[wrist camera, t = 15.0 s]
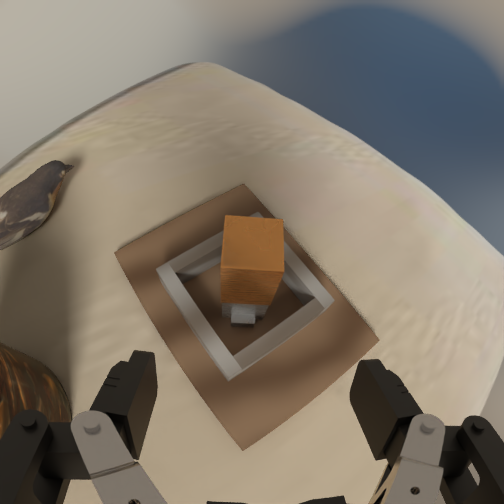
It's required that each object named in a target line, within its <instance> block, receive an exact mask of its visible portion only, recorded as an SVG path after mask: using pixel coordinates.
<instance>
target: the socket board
mask: <svg viewBox="0 0 504 504" xmlns="http://www.w3.org/2000/svg"><path fill="white" fill-rule="evenodd" d="M225 215H231V216H245V217H258V218H271V219H276V218H275V217H274V216H273V215H272V214H271V213H270V212H269V211H268V210H267V208H266V207H265V206H264V205H263V204H262V203H261V202H260V201H259V200H258V199H257V198H256V196H255V195H254V194H253V193H252V192H251V191H250V190H249V189H248V188H247V187H246V186H245V184H242V185H240V186H238V187H236V188H234V189H232V190H230V191H228V192H226V193H224V194H222V195H220V196H218V197H216V198H214V199H212V200H210V201H208V202H206V203H204V204H202V205H200V206H198V207H196V208H195V209H193V210H191V211H189V212H187V213H185V214H183V215H181V216H179V217H177V218H176V219H174V220H172V221H170V222H168V223H166V224H164V225H163V226H161V227H159V228H157V229H155V230H153V231H152V232H150V233H148V234H146V235H144V236H142V237H141V238H139V239H137V240H135V241H134V242H132V243H130V244H128V245H126V246H125V247H123V248H121V249H119V250H118V251H116V252H114V254H115V256H116V258H117V259H118V261H119V263H120V265H121V267H122V269H123V271H124V273H125V275H126V277H127V278H128V280H129V282H130V284H131V286H132V288H133V289H134V291H135V293H136V295H137V296H138V298H139V300H140V302H141V303H142V305H143V307H144V309H145V310H146V312H147V314H148V315H149V317H150V319H151V321H152V322H153V324H154V326H155V327H156V329H157V330H158V332H159V334H160V335H161V337H162V339H163V340H164V342H165V343H166V345H167V347H168V348H169V350H170V351H171V353H172V354H173V356H174V357H175V359H176V360H177V362H178V364H179V365H180V367H181V368H182V370H183V371H184V373H185V374H186V375H187V377H188V378H189V380H190V381H191V383H192V384H193V386H194V387H195V389H196V390H197V391H198V393H199V394H200V396H201V397H202V398H203V400H204V401H205V403H206V404H207V405H208V407H209V408H210V409H211V411H212V412H213V413H214V415H215V416H216V418H217V419H218V420H219V421H220V423H221V424H222V425H223V427H224V428H225V429H226V431H227V432H228V433H229V434H230V436H231V437H232V438H233V440H234V441H235V442H236V443H237V445H238V446H239V447H240V448H241V450H242V451H244V450H245V449H247V448H248V447H250V446H251V445H253V444H254V443H255V442H257V441H258V440H260V439H261V438H263V437H264V436H266V435H267V434H268V433H270V432H271V431H273V430H274V429H275V428H277V427H278V426H279V425H281V424H282V423H284V422H285V421H286V420H288V419H289V418H290V417H292V416H293V415H294V414H295V413H297V412H298V411H299V410H301V409H302V408H303V407H304V406H306V405H307V404H308V403H309V402H311V401H312V400H313V399H314V398H316V397H317V396H318V395H319V394H321V393H322V392H323V391H324V390H325V389H327V388H328V387H329V386H330V385H331V384H332V383H334V382H335V381H336V380H337V379H338V378H339V377H340V376H342V375H343V374H344V373H345V372H346V371H347V370H348V369H350V368H351V367H352V366H353V365H354V364H355V363H356V362H357V361H358V360H359V359H360V358H362V357H363V356H364V355H365V354H366V353H367V352H368V351H369V350H370V349H371V348H372V347H373V346H374V345H375V344H376V343H377V342H378V341H379V339H378V337H377V336H376V335H375V334H374V333H373V331H372V330H371V329H370V328H369V326H368V325H367V324H366V323H365V322H364V320H363V319H362V318H361V317H360V316H359V314H358V313H357V312H356V311H355V310H354V308H353V307H352V306H351V305H350V304H349V302H348V301H347V300H346V299H345V298H344V297H343V295H342V294H341V293H340V292H339V291H338V289H337V288H336V287H335V286H334V285H333V284H332V282H331V281H330V280H329V279H328V278H327V277H326V275H325V274H324V273H323V272H322V271H321V270H320V268H319V267H318V266H317V265H316V264H315V263H314V261H313V260H312V259H311V258H310V257H309V256H308V255H307V253H306V252H305V251H304V250H303V249H302V248H301V247H300V245H299V244H298V243H297V242H296V241H295V240H294V239H293V238H292V236H291V235H290V234H289V233H288V232H287V231H286V230H285V229H284V227H283V235H284V274H283V276H282V279H281V281H280V283H279V286H278V288H277V291H276V293H275V295H274V298H273V300H272V303H271V305H269V306H268V308H267V311H266V313H265V315H264V318H263V320H262V319H255V325H254V328H250V327H232V326H231V318H228V317H222V303H221V256H222V244H223V233H224V222H225Z"/></svg>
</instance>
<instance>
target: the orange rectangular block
mask: <svg viewBox="0 0 504 504" xmlns="http://www.w3.org/2000/svg"><path fill="white" fill-rule="evenodd" d="M283 274H284V235H283V219H271V218H258V217H245V216H231V215H225V222H224V233H223V244H222V256H221V303H222V317H228V318H231V326H232V327H250V328H254V325H255V319H262V320H263V318H264V315H265V313H266V311H267V308H268V306H269V305H271V303H272V300H273V298H274V295H275V293H276V291H277V288H278V286H279V283H280V281H281V279H282V276H283Z"/></svg>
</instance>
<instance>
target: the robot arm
mask: <svg viewBox="0 0 504 504" xmlns="http://www.w3.org/2000/svg"><path fill="white" fill-rule="evenodd" d="M157 388H158V385H157V374H156V364H155V355H154V353H153V352H146V351H138V350H134V352H133V353H132V355H131V357H130V360H129V362H125V361H120V362H119V363H117V364H116V365H115V366H113V367H112V368H111V370H110V372H109V374H108V376H107V378H106V379H105V381H104V383H103V385H102V387H101V389H100V391H99V393H98V394H97V396H96V398H95V400H94V402H93V404H92V406H91V408H90V410H89V411H85V412H82V413H80V414H78V415H76V416H75V417H74V419H73V420H72V422H48V420H47V417H46V416H45V415H44V414H43V413H42V412H40V411H38V410H33V409H28V410H23V411H21V412H19V413H18V414H16V415H15V416H14V418H13V419H12V421H11V422H10V424H9V426H8V427H7V429H6V431H5V432H4V434H3V436H2V438H1V439H0V504H63V502H64V499H65V496H66V493H67V489H68V486H69V483H70V480H71V479H80V480H92V482H93V484H94V486H95V488H96V490H97V492H98V494H99V496H100V498H101V500H102V502H103V504H167V502H166V501H165V500H164V498H163V497H162V495H161V494H160V493H159V491H158V490H157V488H156V487H155V486H154V484H153V483H152V481H151V480H150V478H149V477H148V475H147V474H146V472H145V471H144V469H143V468H142V466H141V465H140V464H139V463H138V462H135V461H134V459H136V460H139V457H140V453H141V450H142V446H143V442H144V439H145V435H146V432H147V428H148V425H149V421H150V418H151V414H152V411H153V407H154V404H155V401H156V397H157ZM350 402H351V405H352V407H353V409H354V412H355V414H356V416H357V419H358V421H359V423H360V425H361V428H362V430H363V432H364V435H365V437H366V439H367V442H368V444H369V446H370V449H371V451H372V453H373V456H374V458H375V460H381V459H386V458H387V461H388V463H387V465H386V467H385V469H384V471H383V474H382V476H381V478H380V480H379V483H378V485H377V487H376V489H375V491H374V493H373V496H372V498H371V500H370V501H369V503H368V504H435V503H436V500H437V496H438V492H439V489H440V491H441V494H442V496H443V498H444V500H445V503H446V504H504V442H503V441H502V439H501V438H500V437H499V435H498V434H497V432H496V431H495V430H494V428H493V427H492V426H491V424H490V423H489V422H488V421H487V420H486V419H484V418H482V417H480V416H469V417H467V418H466V419H465V420H464V421H463V423H462V425H461V426H445V425H444V423H443V422H442V421H441V420H440V419H439V418H438V417H436V416H434V415H431V414H424V413H423V412H422V410H421V409H420V407H419V406H418V404H417V403H416V401H415V400H414V398H413V397H412V395H411V394H410V393H408V390H407V388H406V387H405V386H404V384H403V382H402V381H401V379H400V378H399V377H398V376H397V375H396V374H394V373H393V372H392V371H390V370H386V369H385V367H384V366H383V364H382V363H381V361H380V360H379V359H371V360H361V361H360V362H359V363H358V366H357V370H356V373H355V376H354V379H353V383H352V386H351V389H350ZM471 463H473V465H474V467H475V469H476V471H477V472H478V474H479V477H480V483H479V485H477V484H476V482H475V480H474V478H473V476H472V474H471V473H470V471H469V469H468V467H469V465H470V464H471ZM207 504H246V503H234V502H212V501H207ZM300 504H346V501H345V498H344V496H337V497H330V498H322V499H313V500H309V501H306V502H303V503H300Z"/></svg>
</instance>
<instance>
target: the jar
mask: <svg viewBox="0 0 504 504" xmlns="http://www.w3.org/2000/svg"><path fill="white" fill-rule="evenodd" d="M28 409H33V410H38V411H40V412H42V413H43V414H44V415H45V416H46V417H47V420H48V422H72V419H71V410H70V405H69V402H68V399H67V396H66V393H65V391H64V389H63V387H62V385H61V383H60V382H59V380H58V379H57V377H56V376H55V375H54V374H53V372H52V371H51V370H50V369H49V368H48V367H46V366H45V365H44V364H43V363H41V362H40V361H38V360H36V359H34V358H32V357H30V356H28V355H26V354H24V353H22V352H19V351H17V350H15V349H13V348H11V347H9V346H7V345H5V344H3V343H1V342H0V439H1V438H2V436H3V434H4V432H5V431H6V429H7V427H8V426H9V424H10V422H11V421H12V419H13V418H14V416H15V415H16V414H18V413H19V412H21V411H23V410H28Z"/></svg>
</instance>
